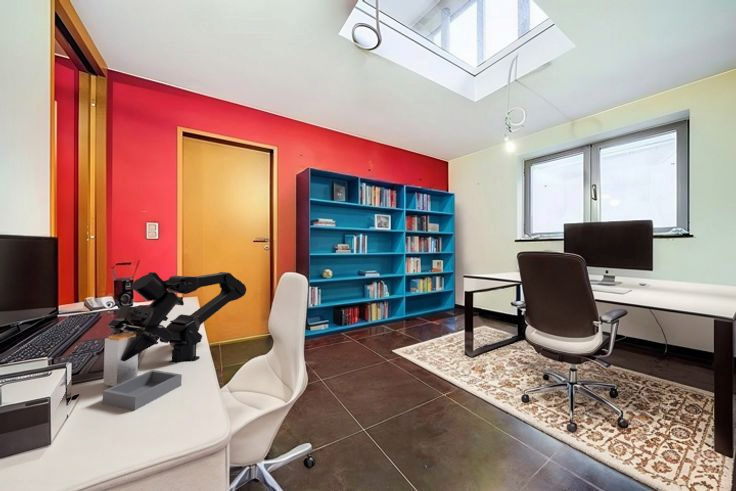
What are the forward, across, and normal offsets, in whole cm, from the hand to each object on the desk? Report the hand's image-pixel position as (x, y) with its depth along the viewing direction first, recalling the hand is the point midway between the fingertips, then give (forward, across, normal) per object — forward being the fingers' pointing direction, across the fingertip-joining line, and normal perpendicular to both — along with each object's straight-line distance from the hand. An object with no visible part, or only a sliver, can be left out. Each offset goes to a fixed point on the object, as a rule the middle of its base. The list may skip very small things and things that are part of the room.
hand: (115, 359), depth 73 cm
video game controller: (-14, -13, +27) cm, 33 cm away
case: (+6, +11, +6) cm, 14 cm away
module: (+4, 0, +6) cm, 7 cm away
